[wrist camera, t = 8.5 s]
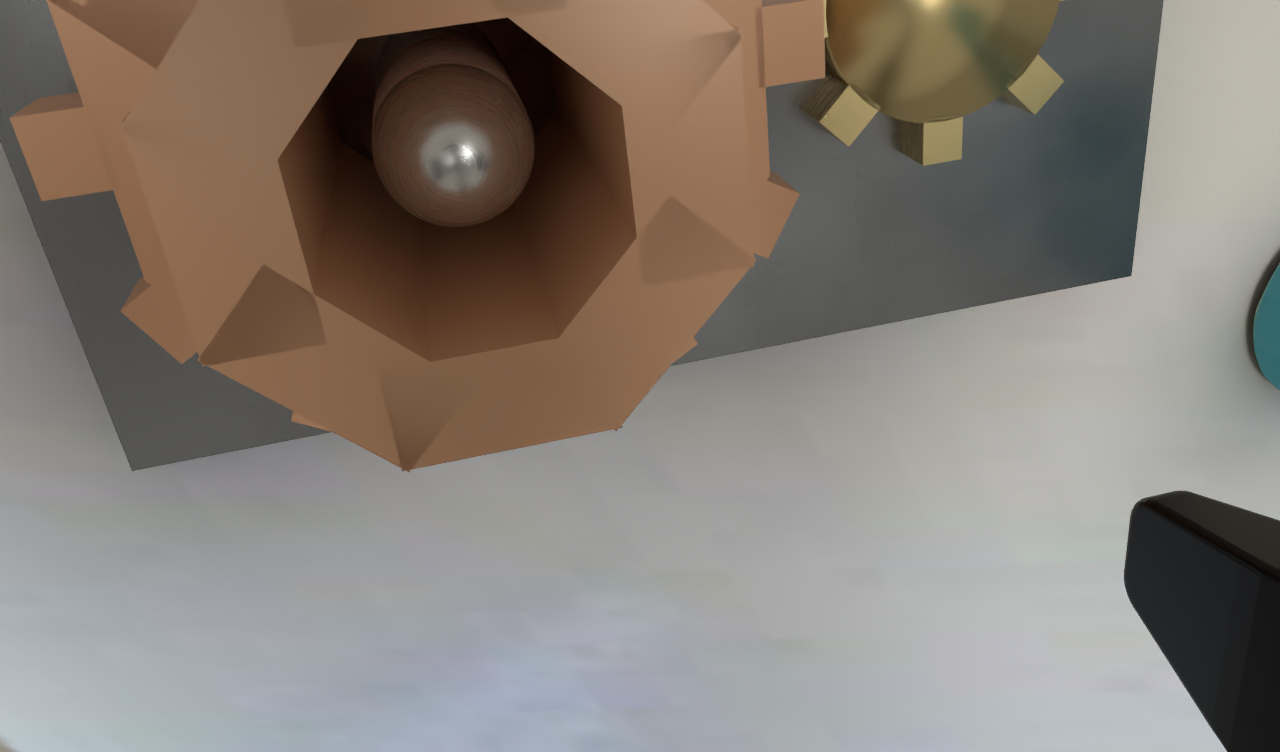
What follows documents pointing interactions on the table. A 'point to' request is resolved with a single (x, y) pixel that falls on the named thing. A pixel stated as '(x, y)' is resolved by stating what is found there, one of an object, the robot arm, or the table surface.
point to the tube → (1269, 330)
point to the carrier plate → (798, 152)
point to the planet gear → (410, 247)
